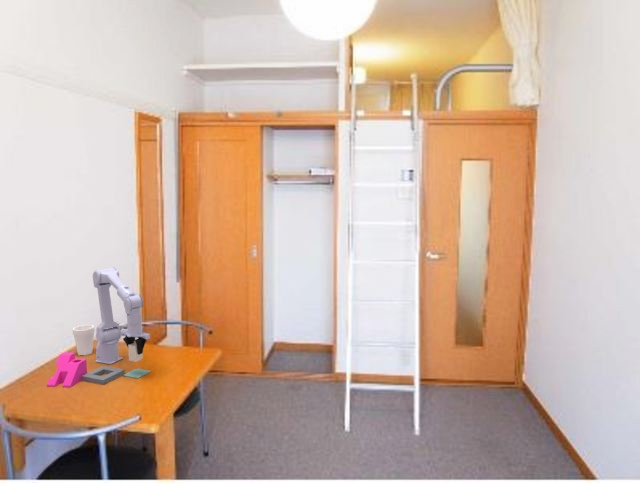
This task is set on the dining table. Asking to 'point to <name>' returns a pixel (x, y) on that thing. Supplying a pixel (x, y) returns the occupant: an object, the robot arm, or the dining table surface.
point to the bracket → (68, 371)
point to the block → (134, 353)
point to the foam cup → (84, 339)
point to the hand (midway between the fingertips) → (136, 353)
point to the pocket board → (96, 378)
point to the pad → (136, 373)
